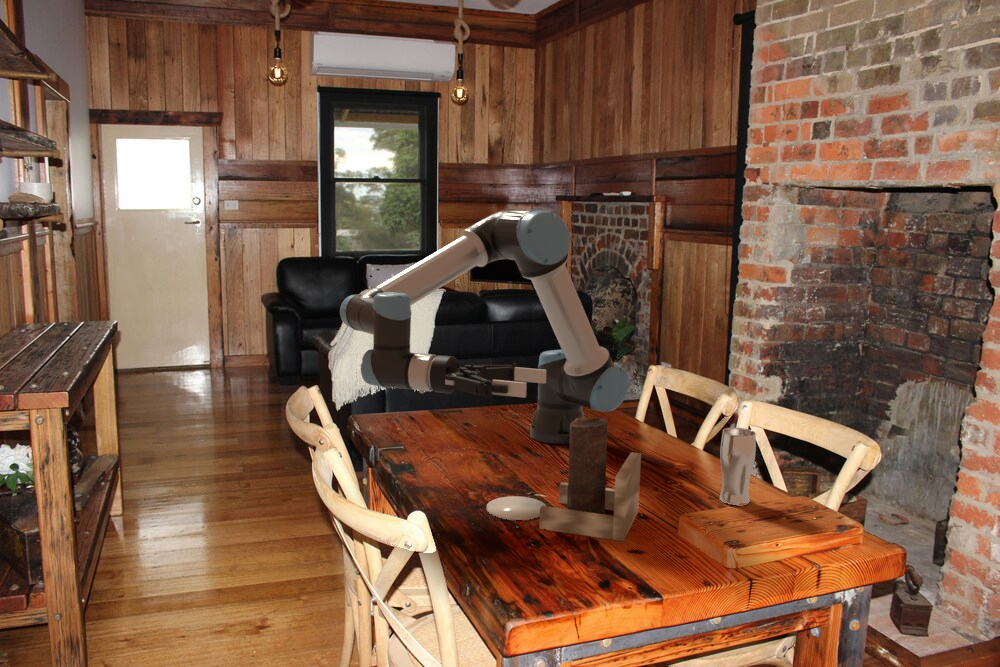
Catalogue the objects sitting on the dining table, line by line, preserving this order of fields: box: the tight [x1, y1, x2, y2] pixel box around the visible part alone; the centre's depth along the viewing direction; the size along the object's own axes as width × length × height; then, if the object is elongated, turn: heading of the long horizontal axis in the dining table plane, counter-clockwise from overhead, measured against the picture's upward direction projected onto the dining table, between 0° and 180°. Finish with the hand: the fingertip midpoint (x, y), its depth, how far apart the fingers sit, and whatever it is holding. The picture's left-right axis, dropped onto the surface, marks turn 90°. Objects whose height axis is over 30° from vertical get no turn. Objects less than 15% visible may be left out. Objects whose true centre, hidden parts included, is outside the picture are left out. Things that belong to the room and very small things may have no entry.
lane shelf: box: [538, 451, 642, 542], centre depth 160 cm, size 16×16×12 cm
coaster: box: [486, 495, 547, 521], centre depth 166 cm, size 12×12×1 cm
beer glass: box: [719, 427, 757, 505], centre depth 172 cm, size 7×7×15 cm
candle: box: [566, 416, 608, 515], centre depth 160 cm, size 8×7×20 cm
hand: (536, 383), depth 161 cm, fingers open, 13 cm apart
